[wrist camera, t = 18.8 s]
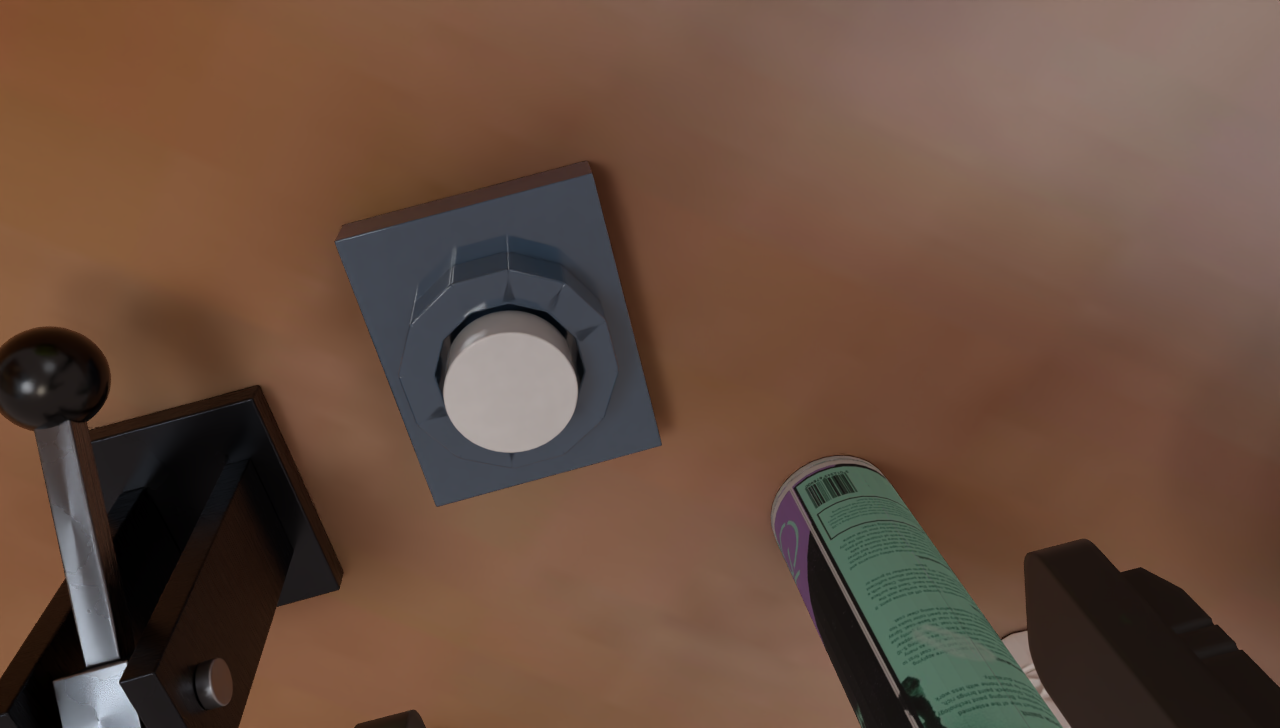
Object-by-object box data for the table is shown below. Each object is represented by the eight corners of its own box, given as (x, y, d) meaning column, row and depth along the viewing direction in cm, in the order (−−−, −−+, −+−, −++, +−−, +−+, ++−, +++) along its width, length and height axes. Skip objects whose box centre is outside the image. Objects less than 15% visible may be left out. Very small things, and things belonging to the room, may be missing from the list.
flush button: (428, 328, 33) (424, 352, 31) (554, 294, 33) (558, 317, 31) (467, 439, 35) (466, 468, 33) (587, 406, 35) (592, 433, 33)
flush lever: (20, 348, 31) (-49, 336, 28) (119, 322, 31) (60, 307, 28) (108, 755, 30) (45, 790, 27) (210, 726, 30) (160, 758, 27)
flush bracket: (76, 433, 37) (-116, 669, 25) (259, 384, 37) (152, 595, 25) (179, 617, 40) (53, 896, 29) (344, 572, 41) (285, 831, 29)
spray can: (745, 530, 43) (930, 979, 24) (822, 433, 41) (1081, 835, 23) (839, 580, 44) (1076, 1033, 26) (917, 490, 43) (1225, 903, 25)
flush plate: (341, 224, 35) (324, 259, 31) (587, 160, 35) (598, 187, 31) (438, 480, 40) (433, 537, 36) (654, 422, 40) (670, 472, 36)
